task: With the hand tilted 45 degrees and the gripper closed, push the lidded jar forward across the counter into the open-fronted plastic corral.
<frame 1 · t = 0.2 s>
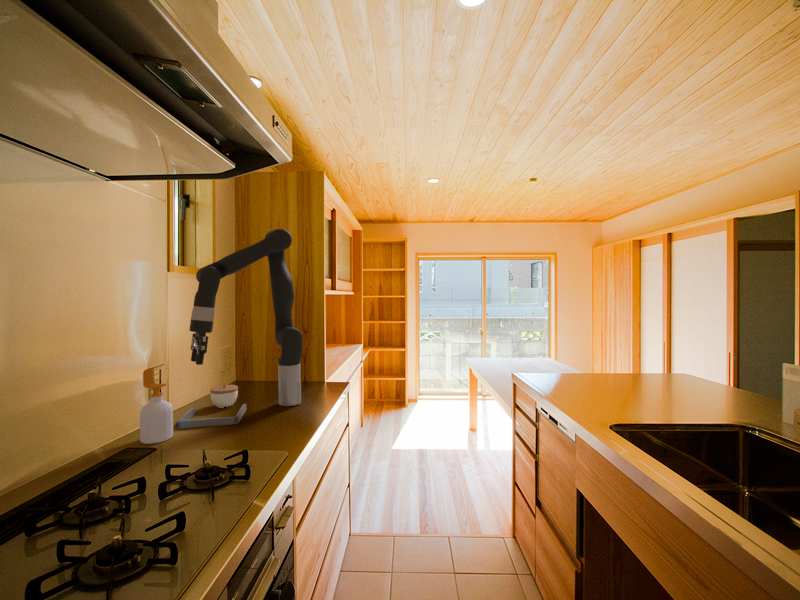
hand: (196, 363, 134), 22 cm above the counter, tool pointing down, fingers open, 8 cm apart
soap bottle: (157, 439, 120), on the counter
lidded jar: (224, 406, 155), on the counter
corral: (214, 418, 139), on the counter
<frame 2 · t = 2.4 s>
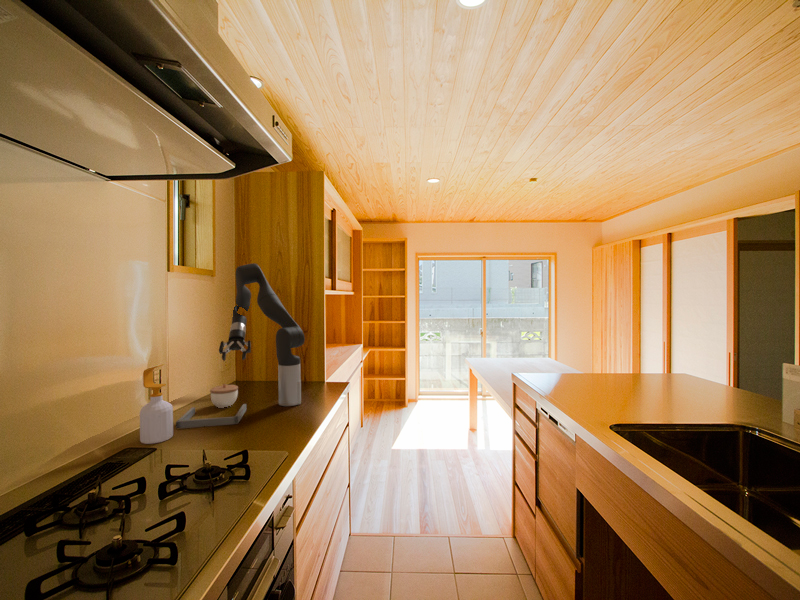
hand: (233, 359, 175), 16 cm above the counter, tool tilted 45°, fingers open, 8 cm apart
nothing on the counter moved.
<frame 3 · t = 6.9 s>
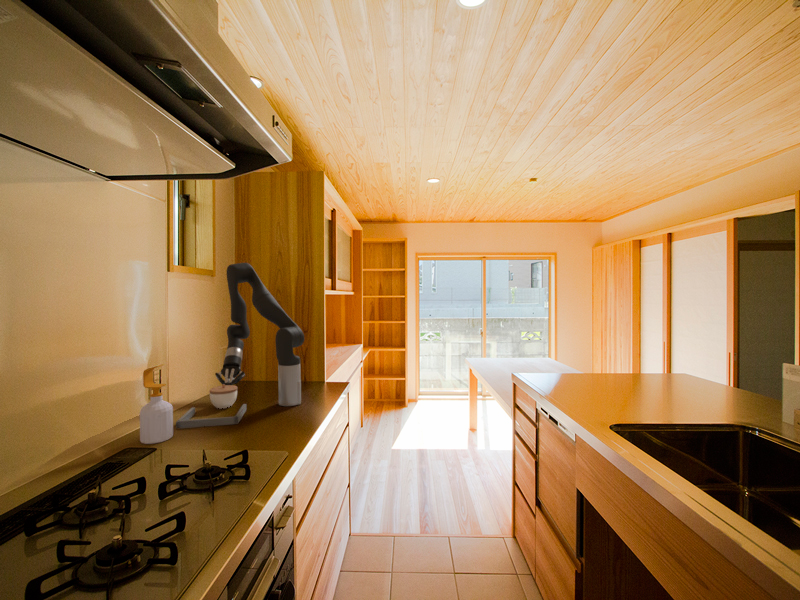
hand: (227, 391, 159), 5 cm above the counter, tool tilted 45°, fingers closed
lidded jar: (223, 406, 154), on the counter, touching gripper
everything else where it was.
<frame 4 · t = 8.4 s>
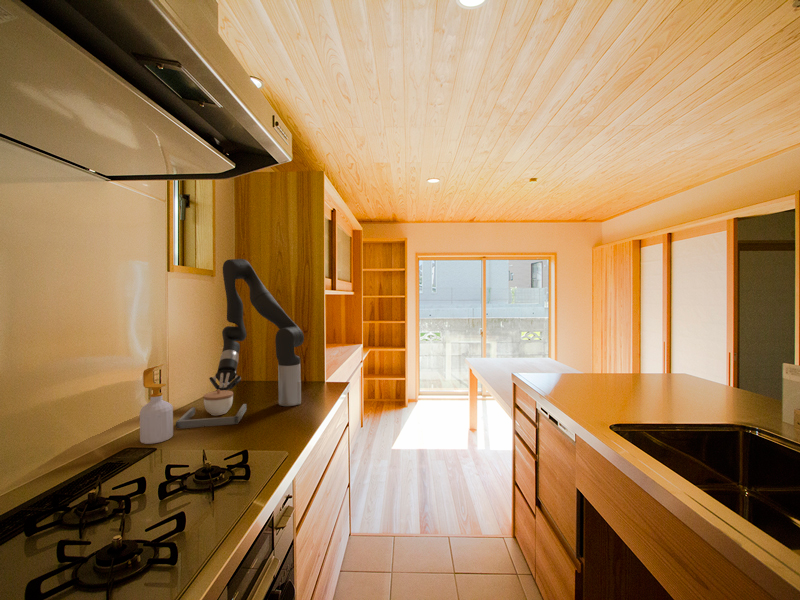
hand: (221, 397, 151), 5 cm above the counter, tool tilted 45°, fingers closed
lidded jar: (218, 413, 145), on the counter, touching gripper
everything else where it was.
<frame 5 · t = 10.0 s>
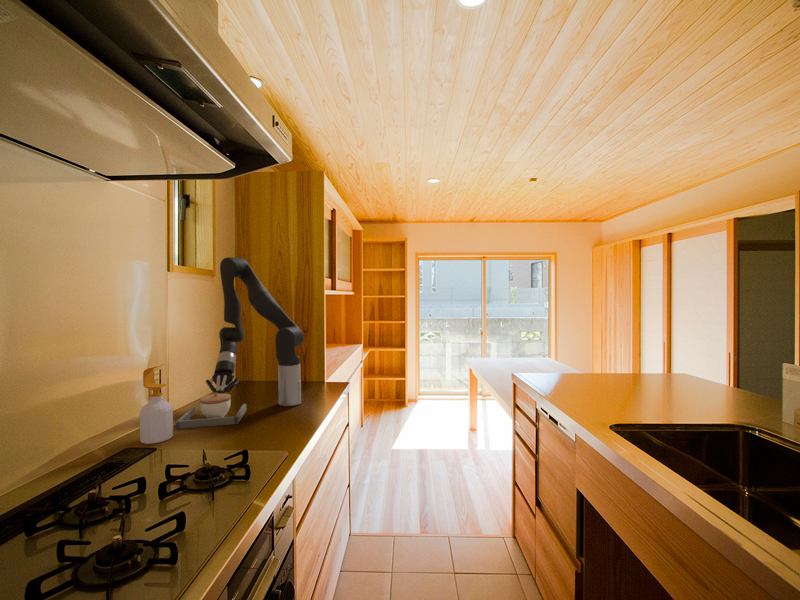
hand: (218, 400, 146), 5 cm above the counter, tool tilted 45°, fingers closed
lidded jar: (216, 417, 141), on the counter, touching gripper
everything else where it was.
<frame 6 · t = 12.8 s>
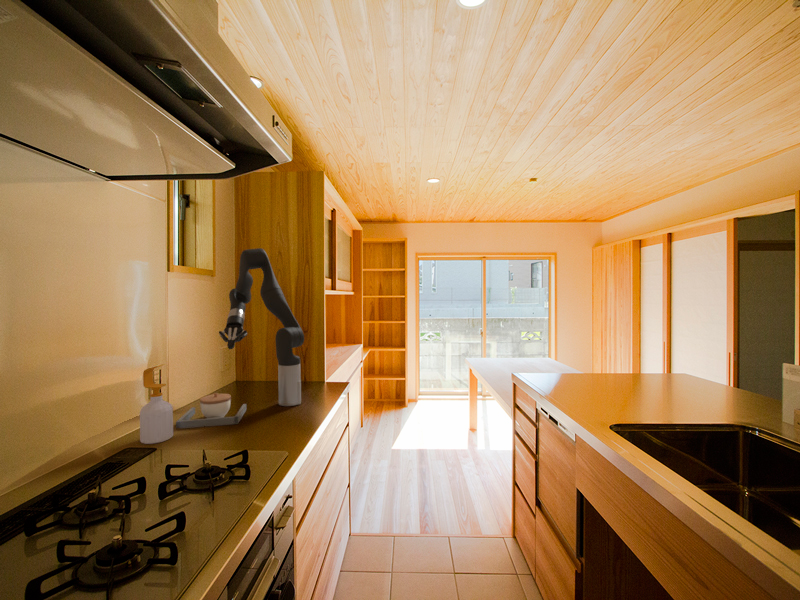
hand: (230, 348, 166), 23 cm above the counter, tool tilted 45°, fingers closed
lidded jar: (216, 417, 141), on the counter
everything else where it was.
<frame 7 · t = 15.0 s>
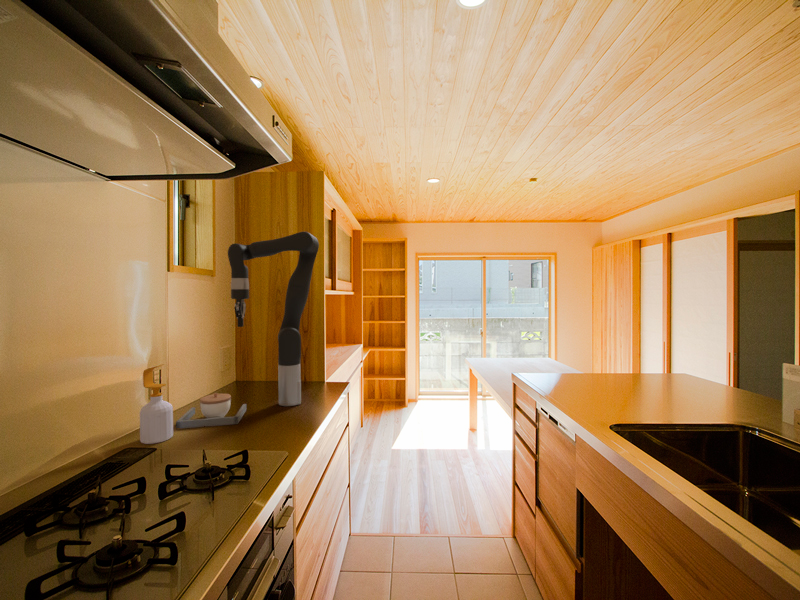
hand: (240, 326, 164), 33 cm above the counter, tool pointing down, fingers closed
nothing on the counter moved.
at the end: lidded jar inside the target area (1.5 cm from its centre), on the counter; lidded jar tilted 0° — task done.
